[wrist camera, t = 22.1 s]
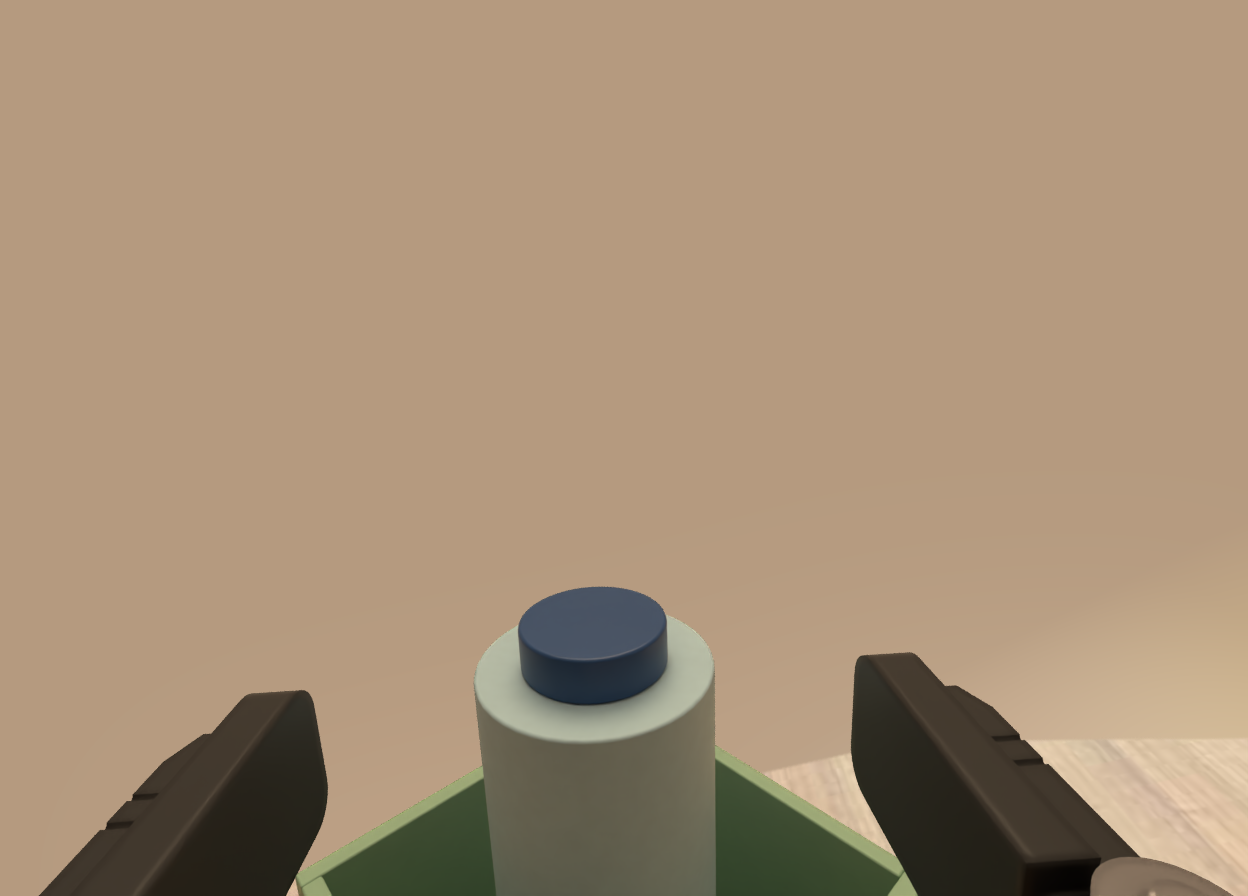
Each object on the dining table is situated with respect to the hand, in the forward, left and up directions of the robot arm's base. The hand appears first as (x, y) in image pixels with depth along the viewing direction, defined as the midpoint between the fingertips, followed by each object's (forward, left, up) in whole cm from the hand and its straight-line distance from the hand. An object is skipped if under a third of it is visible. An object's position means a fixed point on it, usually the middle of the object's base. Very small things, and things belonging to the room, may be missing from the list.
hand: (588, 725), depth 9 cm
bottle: (-3, +3, -19) cm, 19 cm away
